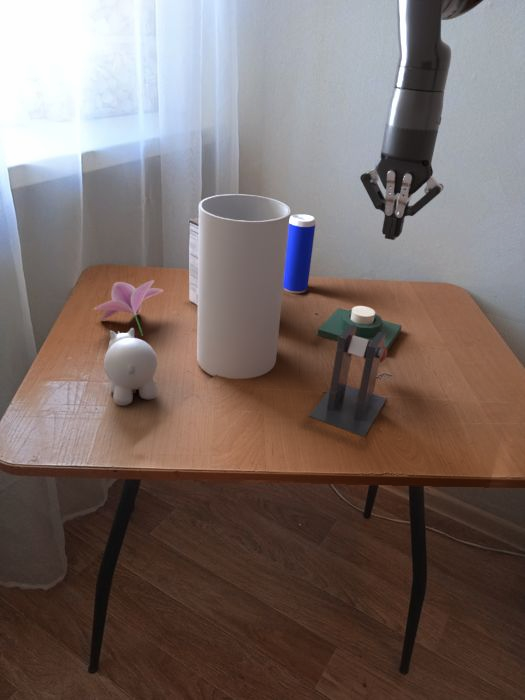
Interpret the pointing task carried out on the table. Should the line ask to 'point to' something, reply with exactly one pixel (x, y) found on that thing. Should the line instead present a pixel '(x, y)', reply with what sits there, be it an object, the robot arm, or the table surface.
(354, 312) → the button
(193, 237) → the coffee box
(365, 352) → the tap lever
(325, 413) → the grey lever stand
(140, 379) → the chubby cartoon animal
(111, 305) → the lily
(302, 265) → the beverage can
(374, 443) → the table surface
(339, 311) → the button box
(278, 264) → the cylinder vase
